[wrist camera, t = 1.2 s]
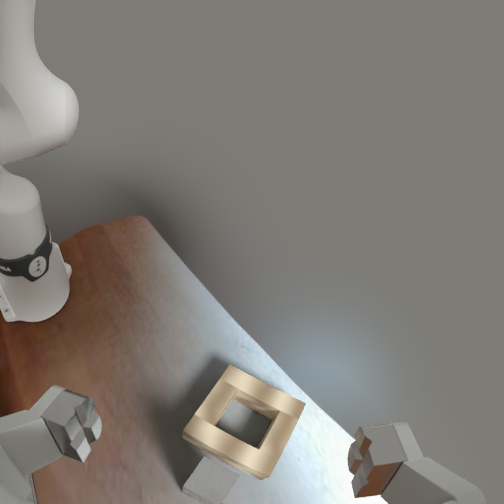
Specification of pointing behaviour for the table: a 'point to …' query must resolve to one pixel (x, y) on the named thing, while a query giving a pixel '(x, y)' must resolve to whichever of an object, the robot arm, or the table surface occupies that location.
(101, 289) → the table surface
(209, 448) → the well block
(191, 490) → the steel post
